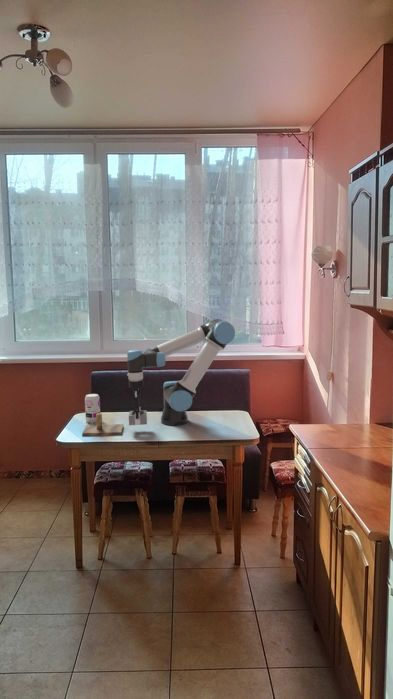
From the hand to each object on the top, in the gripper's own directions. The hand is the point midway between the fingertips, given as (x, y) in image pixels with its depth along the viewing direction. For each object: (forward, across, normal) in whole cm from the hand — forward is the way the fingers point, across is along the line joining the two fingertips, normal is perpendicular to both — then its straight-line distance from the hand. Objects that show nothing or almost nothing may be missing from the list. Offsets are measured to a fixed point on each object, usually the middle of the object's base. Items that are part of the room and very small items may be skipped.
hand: (138, 421), depth 263 cm
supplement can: (+5, -23, -27) cm, 36 cm away
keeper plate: (+5, -3, -19) cm, 20 cm away
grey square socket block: (0, 0, 0) cm, 0 cm away
